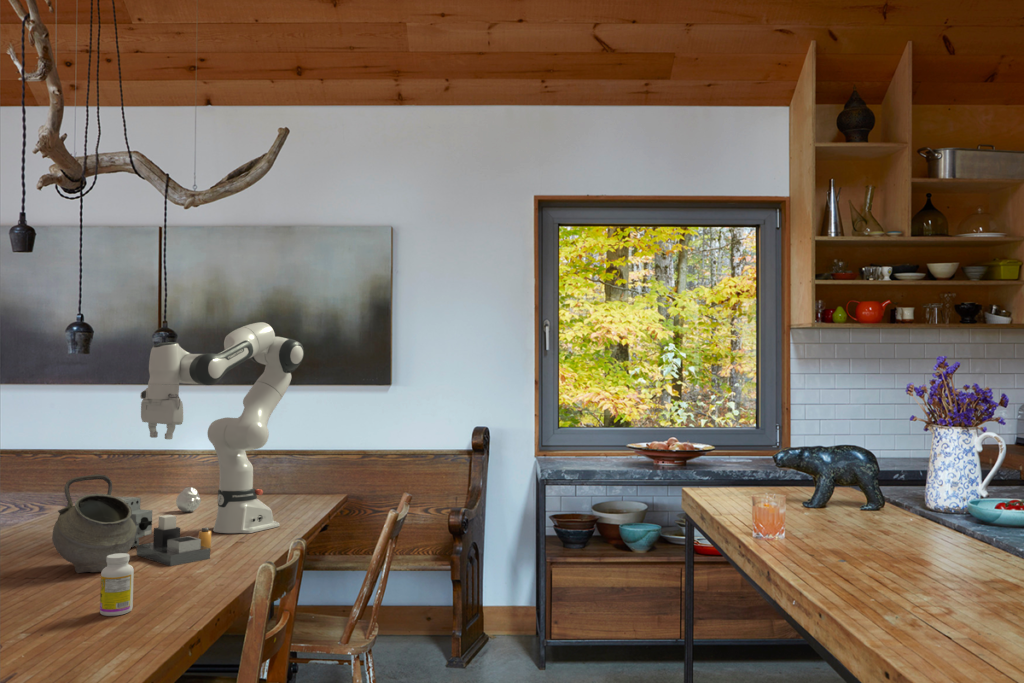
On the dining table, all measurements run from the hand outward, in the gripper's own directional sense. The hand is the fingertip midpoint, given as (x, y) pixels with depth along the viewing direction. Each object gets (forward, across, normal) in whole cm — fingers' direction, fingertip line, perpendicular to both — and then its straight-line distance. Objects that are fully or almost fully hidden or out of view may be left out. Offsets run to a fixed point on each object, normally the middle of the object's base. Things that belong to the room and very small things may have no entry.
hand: (160, 438), depth 236 cm
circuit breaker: (+35, +10, +4) cm, 36 cm away
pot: (+35, -8, +21) cm, 42 cm away
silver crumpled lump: (+34, +55, -40) cm, 75 cm away
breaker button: (+28, -8, +1) cm, 29 cm away
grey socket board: (+34, -12, 0) cm, 36 cm away
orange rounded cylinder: (+34, -12, -10) cm, 37 cm away
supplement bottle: (+35, -53, +35) cm, 73 cm away
